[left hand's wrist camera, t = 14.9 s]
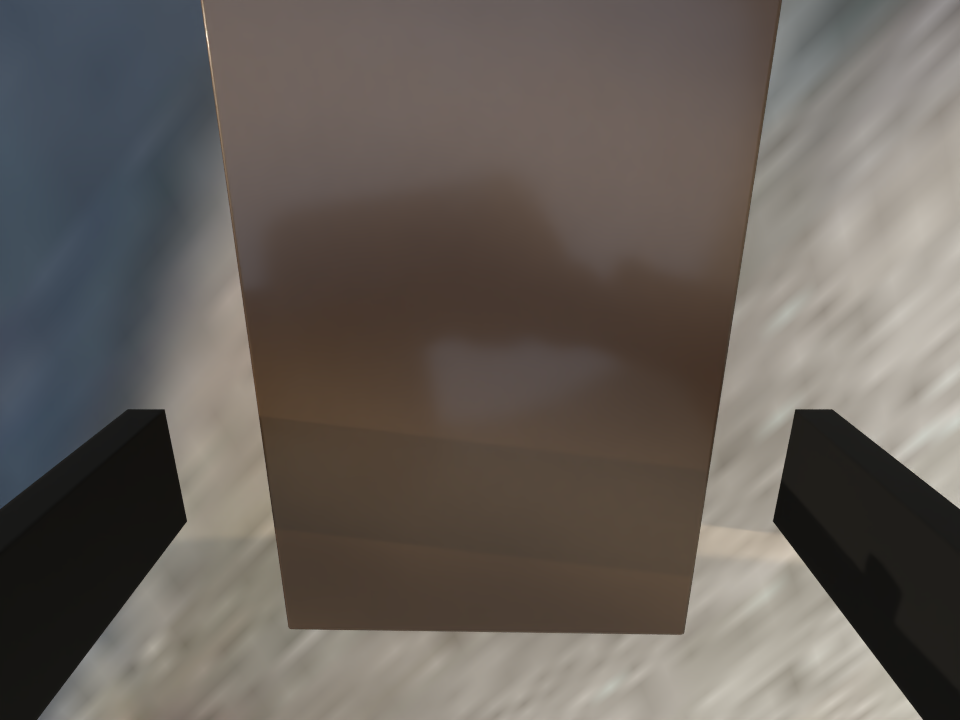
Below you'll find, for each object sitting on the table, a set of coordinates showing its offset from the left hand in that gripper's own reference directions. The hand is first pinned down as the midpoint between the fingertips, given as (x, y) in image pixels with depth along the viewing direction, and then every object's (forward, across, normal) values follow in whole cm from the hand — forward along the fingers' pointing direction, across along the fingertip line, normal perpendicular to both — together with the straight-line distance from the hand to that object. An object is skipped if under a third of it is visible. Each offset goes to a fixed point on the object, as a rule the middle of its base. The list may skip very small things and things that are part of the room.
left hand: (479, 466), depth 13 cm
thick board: (+7, 0, -31) cm, 31 cm away
